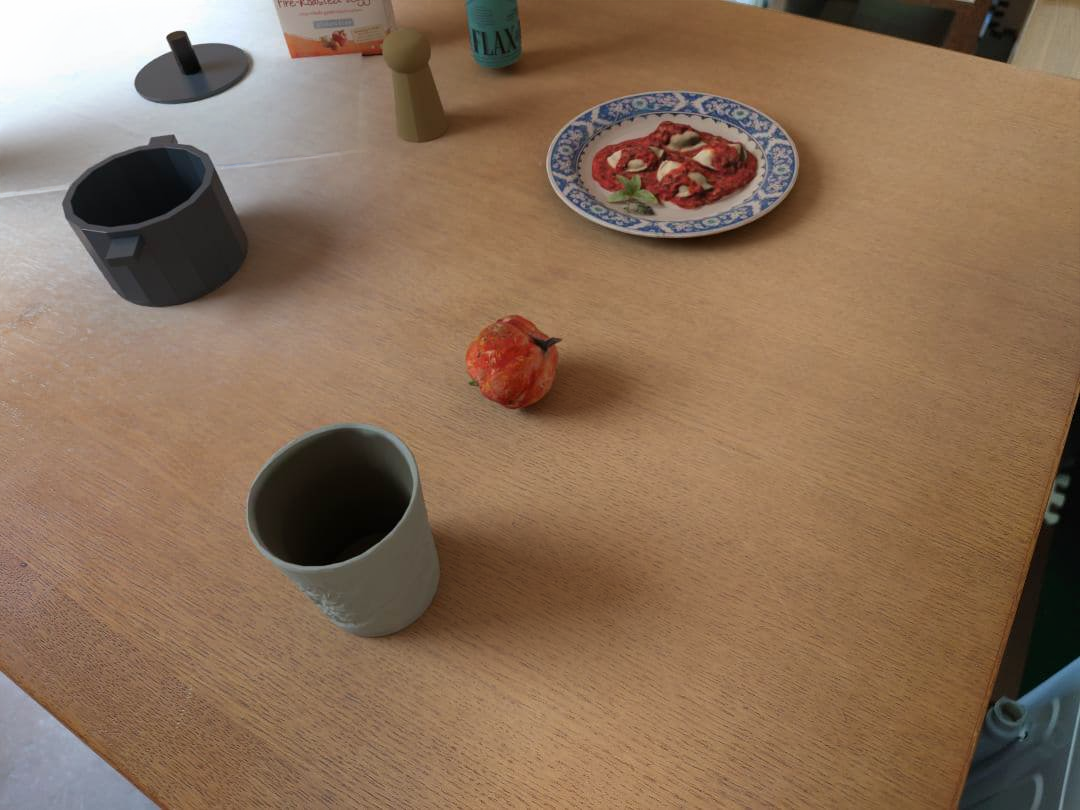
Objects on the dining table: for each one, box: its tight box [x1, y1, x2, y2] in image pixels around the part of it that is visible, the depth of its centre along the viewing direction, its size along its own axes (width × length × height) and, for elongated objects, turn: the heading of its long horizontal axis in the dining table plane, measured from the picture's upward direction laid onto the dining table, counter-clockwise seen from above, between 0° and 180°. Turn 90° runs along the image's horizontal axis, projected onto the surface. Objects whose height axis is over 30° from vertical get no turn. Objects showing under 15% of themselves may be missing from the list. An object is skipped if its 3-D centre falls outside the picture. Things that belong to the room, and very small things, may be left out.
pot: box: [61, 133, 249, 308], centre depth 75 cm, size 14×19×9 cm
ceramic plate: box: [545, 90, 800, 239], centre depth 81 cm, size 26×26×3 cm
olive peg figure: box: [382, 27, 449, 143], centre depth 87 cm, size 6×6×11 cm
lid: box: [133, 30, 250, 105], centre depth 100 cm, size 15×15×6 cm
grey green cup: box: [245, 422, 441, 638], centre depth 50 cm, size 10×10×12 cm
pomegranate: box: [464, 314, 563, 410], centre depth 62 cm, size 7×7×10 cm
